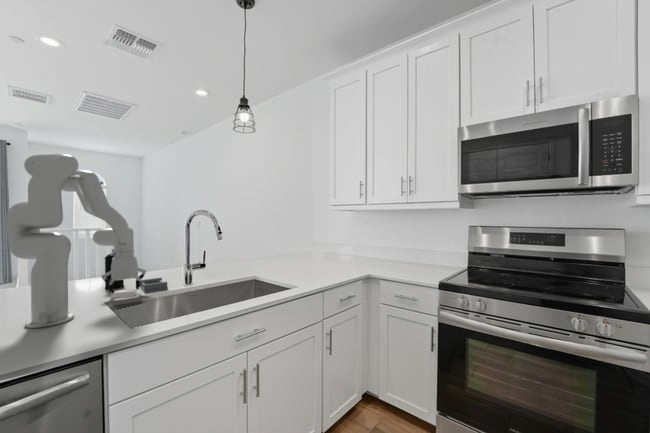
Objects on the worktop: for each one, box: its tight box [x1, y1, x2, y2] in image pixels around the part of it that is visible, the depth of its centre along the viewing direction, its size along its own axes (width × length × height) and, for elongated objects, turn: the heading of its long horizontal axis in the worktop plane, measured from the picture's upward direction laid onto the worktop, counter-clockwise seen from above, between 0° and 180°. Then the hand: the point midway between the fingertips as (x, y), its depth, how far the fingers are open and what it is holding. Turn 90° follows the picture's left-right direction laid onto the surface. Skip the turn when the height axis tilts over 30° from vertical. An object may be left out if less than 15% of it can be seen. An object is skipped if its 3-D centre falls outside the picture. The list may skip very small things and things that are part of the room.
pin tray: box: [139, 277, 169, 294], centre depth 149 cm, size 16×10×4 cm, turn 40°
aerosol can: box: [104, 248, 125, 291], centre depth 150 cm, size 8×8×20 cm
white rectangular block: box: [110, 288, 138, 299], centre depth 136 cm, size 5×9×3 cm, turn 114°
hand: (125, 290), depth 136 cm, fingers open, 9 cm apart
